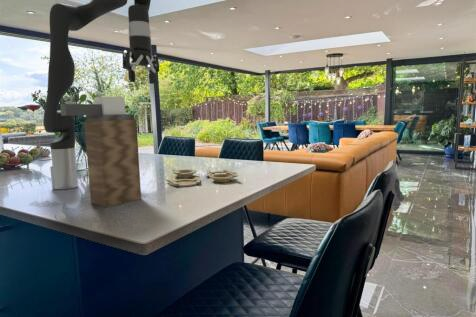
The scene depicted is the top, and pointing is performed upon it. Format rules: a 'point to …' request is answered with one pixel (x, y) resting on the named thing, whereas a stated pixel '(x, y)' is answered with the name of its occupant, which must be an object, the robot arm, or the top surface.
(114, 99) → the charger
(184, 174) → the tableware set
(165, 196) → the top surface
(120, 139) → the wood-grain topped box
